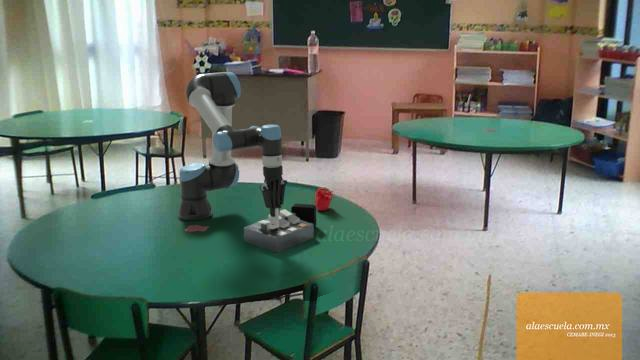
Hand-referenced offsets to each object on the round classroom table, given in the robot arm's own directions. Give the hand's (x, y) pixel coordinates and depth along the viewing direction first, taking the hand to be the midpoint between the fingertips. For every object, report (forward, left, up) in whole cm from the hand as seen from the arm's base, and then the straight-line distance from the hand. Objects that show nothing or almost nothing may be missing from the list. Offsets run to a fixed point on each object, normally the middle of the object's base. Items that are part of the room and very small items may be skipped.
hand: (275, 223), depth 246 cm
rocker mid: (-4, +6, -1) cm, 7 cm away
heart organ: (-16, +47, -10) cm, 50 cm away
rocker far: (-4, +12, -1) cm, 13 cm away
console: (-4, +6, -10) cm, 12 cm away
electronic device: (-6, +23, -10) cm, 25 cm away
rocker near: (-4, 0, -1) cm, 4 cm away
